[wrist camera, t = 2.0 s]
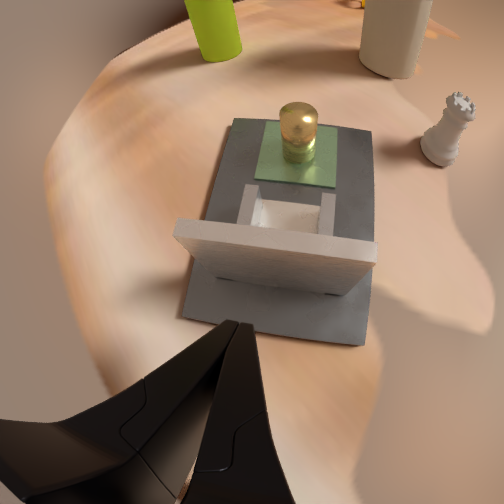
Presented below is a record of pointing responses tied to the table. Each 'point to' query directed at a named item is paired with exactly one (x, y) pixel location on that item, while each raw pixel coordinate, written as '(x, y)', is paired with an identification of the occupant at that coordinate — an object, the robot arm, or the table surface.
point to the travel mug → (393, 35)
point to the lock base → (291, 221)
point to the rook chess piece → (448, 130)
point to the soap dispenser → (215, 28)
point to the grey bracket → (278, 249)
